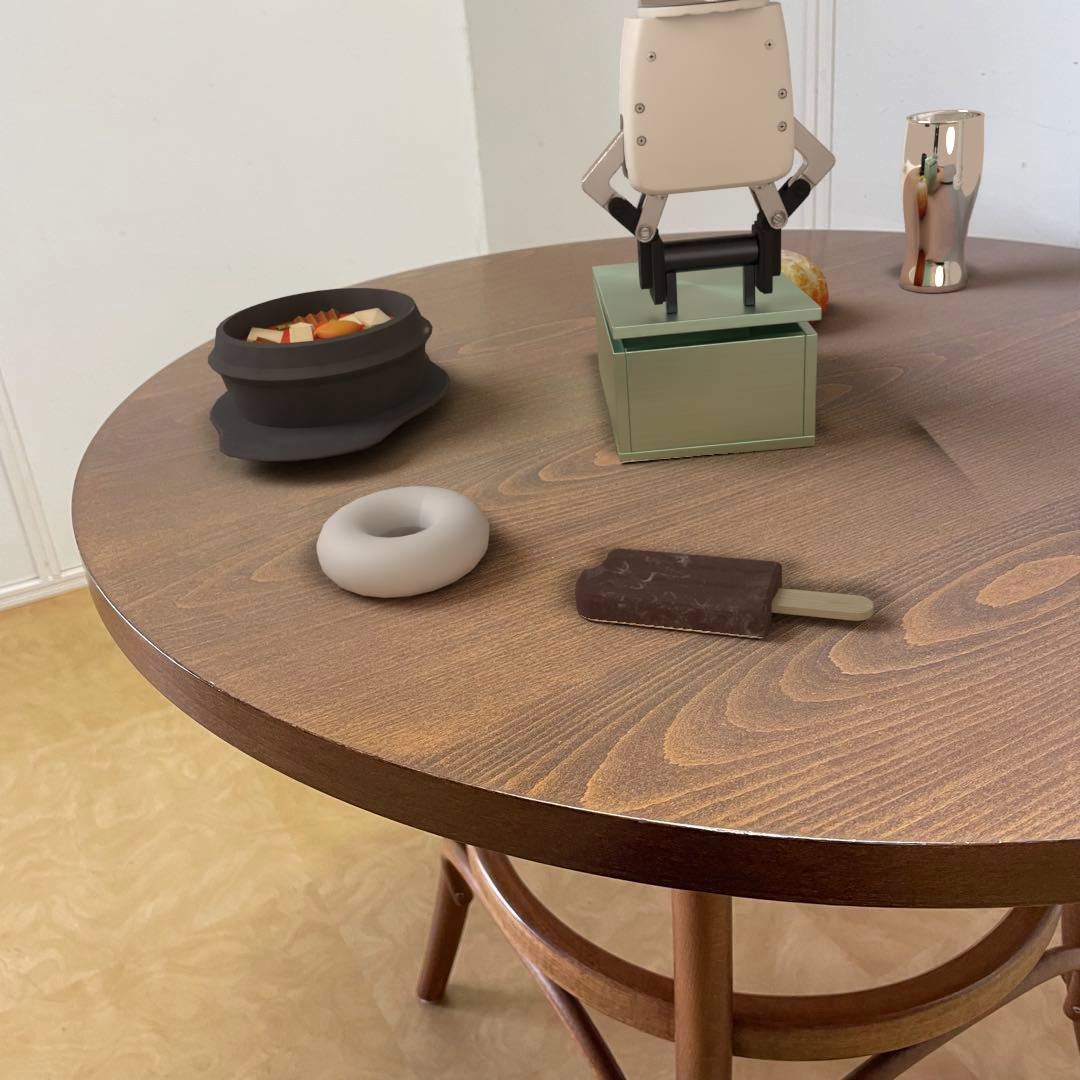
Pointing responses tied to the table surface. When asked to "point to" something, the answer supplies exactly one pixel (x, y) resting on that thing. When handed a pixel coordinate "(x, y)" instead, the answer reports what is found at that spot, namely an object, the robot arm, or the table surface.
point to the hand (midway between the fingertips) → (709, 291)
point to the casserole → (321, 373)
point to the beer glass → (939, 196)
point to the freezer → (709, 389)
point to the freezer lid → (700, 291)
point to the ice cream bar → (702, 593)
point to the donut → (403, 541)
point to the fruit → (806, 278)
